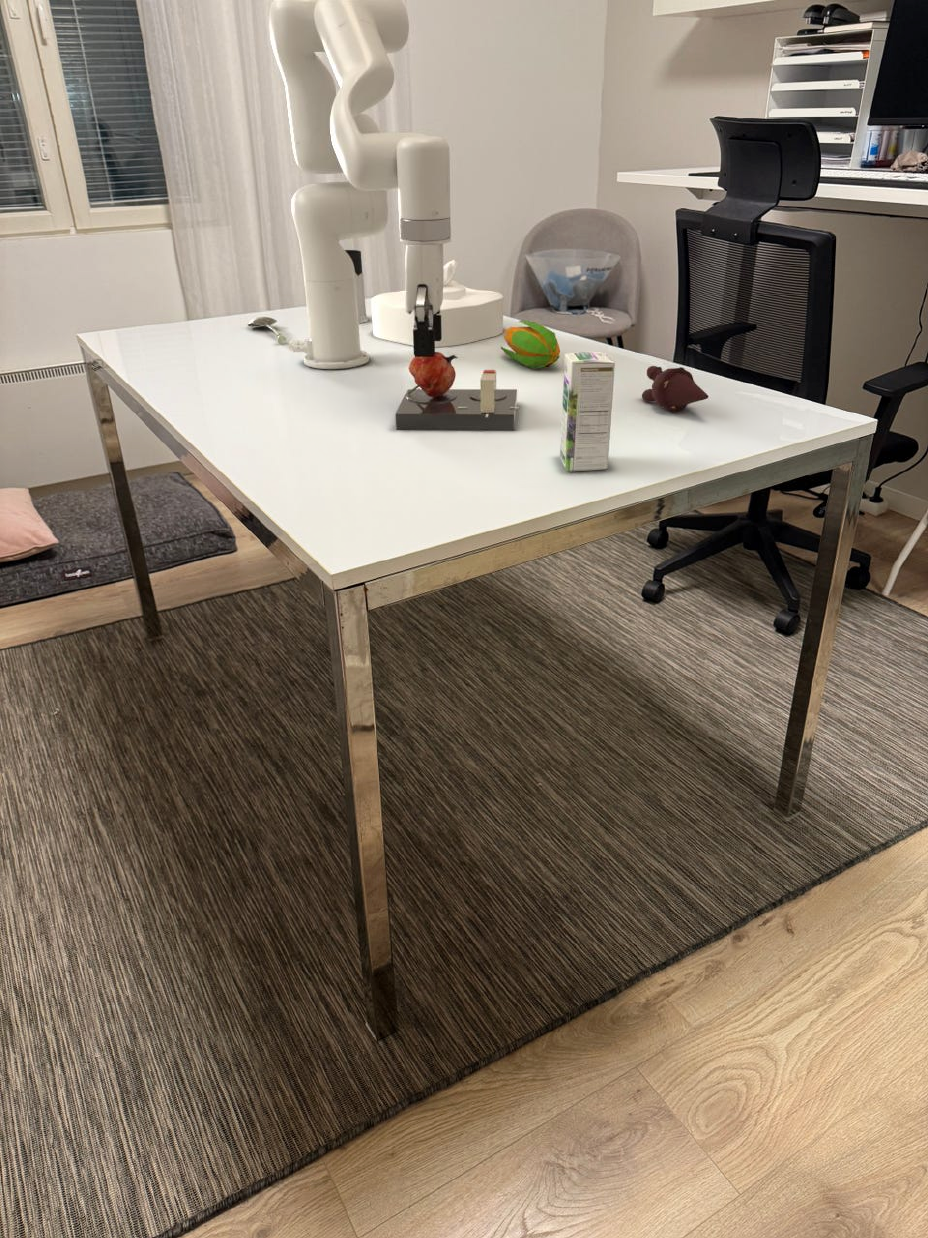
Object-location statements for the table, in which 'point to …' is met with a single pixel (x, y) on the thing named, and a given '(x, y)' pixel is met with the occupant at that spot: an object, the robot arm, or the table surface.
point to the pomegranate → (433, 374)
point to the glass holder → (359, 284)
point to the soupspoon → (267, 322)
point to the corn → (532, 345)
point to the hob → (457, 413)
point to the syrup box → (586, 411)
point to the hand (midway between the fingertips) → (428, 348)
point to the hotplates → (447, 396)
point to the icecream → (672, 388)
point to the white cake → (442, 314)
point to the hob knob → (488, 391)
